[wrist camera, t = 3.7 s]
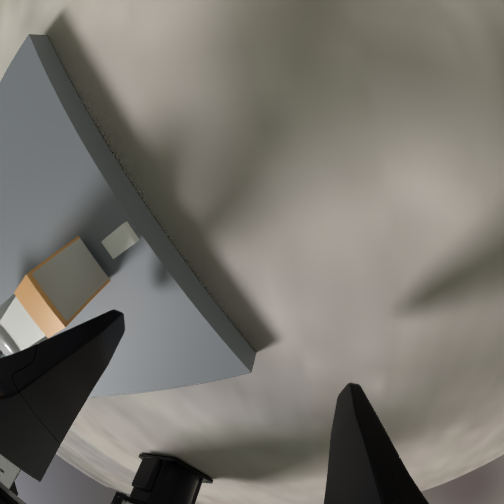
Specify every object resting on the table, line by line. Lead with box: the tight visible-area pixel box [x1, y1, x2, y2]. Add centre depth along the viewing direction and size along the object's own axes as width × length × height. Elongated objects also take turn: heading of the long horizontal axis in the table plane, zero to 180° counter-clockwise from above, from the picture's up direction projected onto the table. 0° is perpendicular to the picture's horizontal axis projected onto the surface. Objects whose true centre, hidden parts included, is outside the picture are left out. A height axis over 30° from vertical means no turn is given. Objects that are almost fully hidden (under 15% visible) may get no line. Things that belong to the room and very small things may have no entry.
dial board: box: [0, 34, 256, 397], centre depth 13 cm, size 18×21×2 cm
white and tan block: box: [0, 236, 111, 356], centre depth 11 cm, size 11×4×3 cm, turn 123°
